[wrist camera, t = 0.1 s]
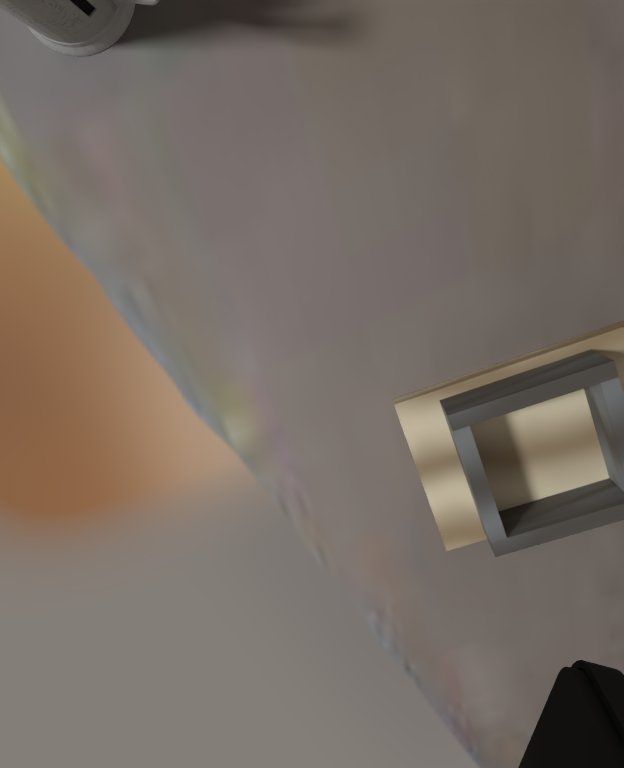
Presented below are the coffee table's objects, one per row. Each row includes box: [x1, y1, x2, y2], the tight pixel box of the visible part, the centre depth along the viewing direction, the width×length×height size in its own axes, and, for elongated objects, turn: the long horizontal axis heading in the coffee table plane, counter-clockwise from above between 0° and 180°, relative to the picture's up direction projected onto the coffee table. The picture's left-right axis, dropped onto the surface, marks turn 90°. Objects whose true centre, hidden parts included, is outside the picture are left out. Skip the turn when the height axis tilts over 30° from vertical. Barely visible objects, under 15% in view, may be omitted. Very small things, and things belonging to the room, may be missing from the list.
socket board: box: [393, 321, 624, 557], centre depth 43 cm, size 13×18×6 cm
